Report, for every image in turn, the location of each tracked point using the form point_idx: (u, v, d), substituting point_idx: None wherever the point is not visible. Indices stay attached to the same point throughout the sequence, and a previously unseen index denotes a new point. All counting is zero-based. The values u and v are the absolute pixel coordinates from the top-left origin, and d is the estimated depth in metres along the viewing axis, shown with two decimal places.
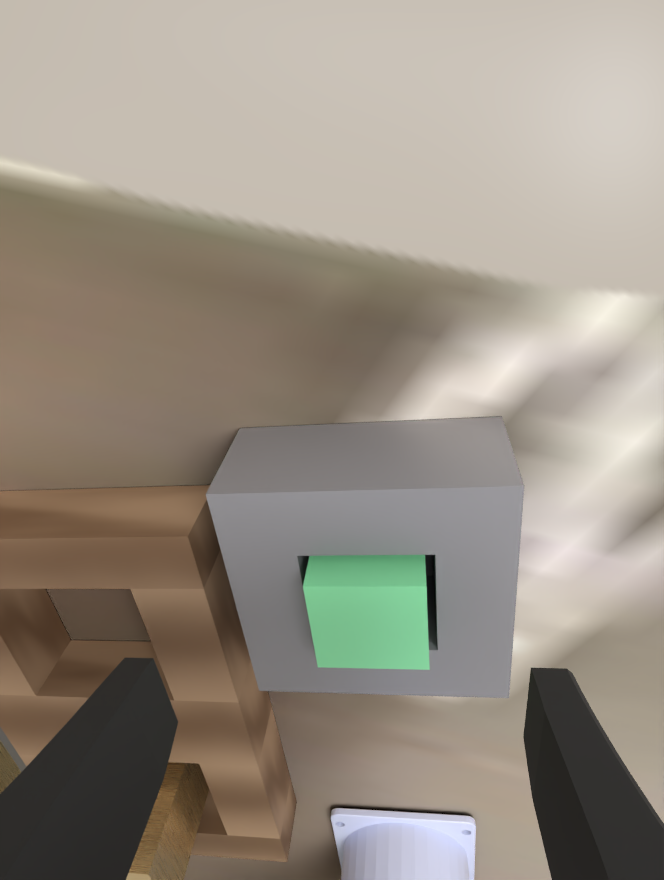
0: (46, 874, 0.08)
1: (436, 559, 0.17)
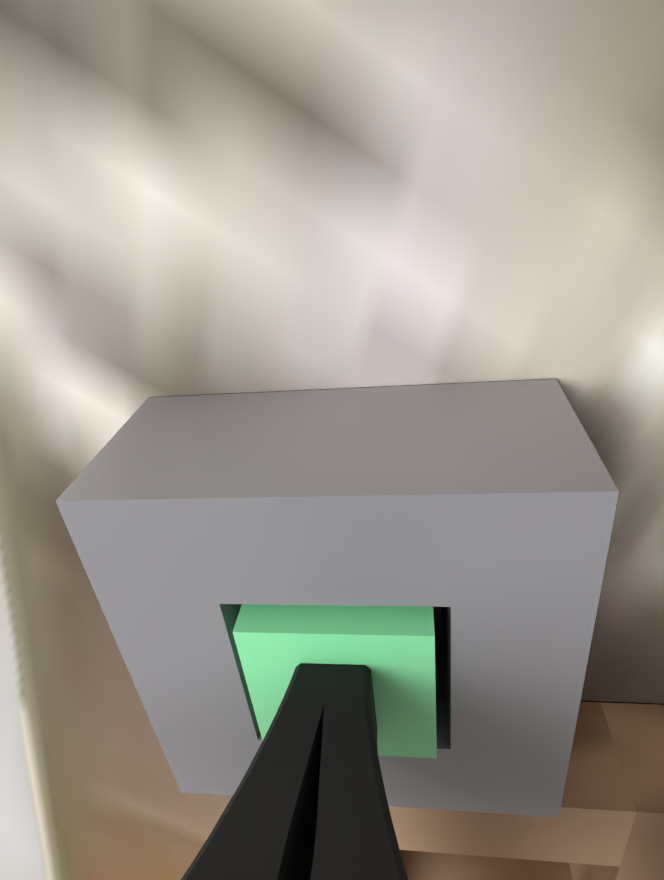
0: None
1: (229, 602, 0.10)
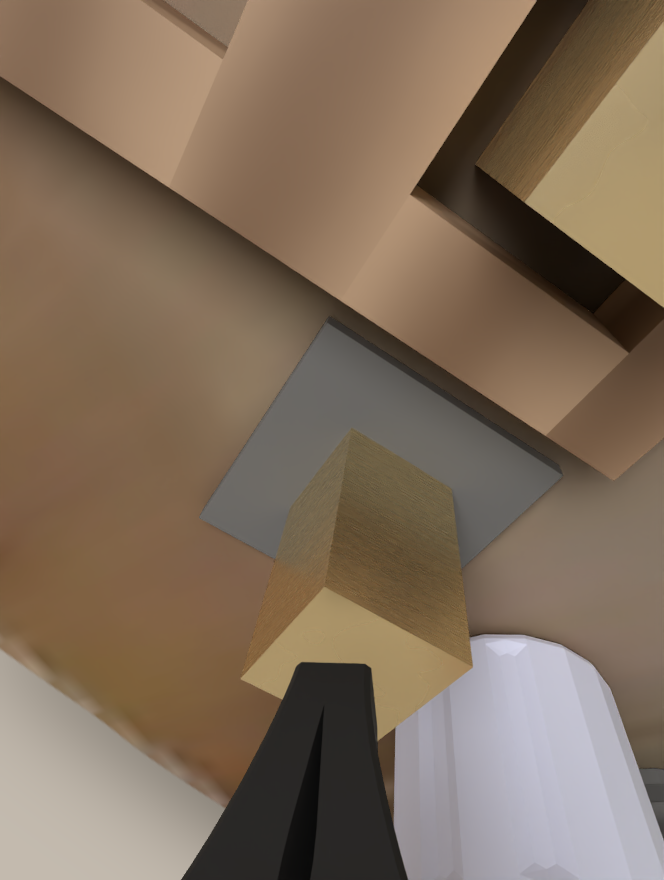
0: None
1: None
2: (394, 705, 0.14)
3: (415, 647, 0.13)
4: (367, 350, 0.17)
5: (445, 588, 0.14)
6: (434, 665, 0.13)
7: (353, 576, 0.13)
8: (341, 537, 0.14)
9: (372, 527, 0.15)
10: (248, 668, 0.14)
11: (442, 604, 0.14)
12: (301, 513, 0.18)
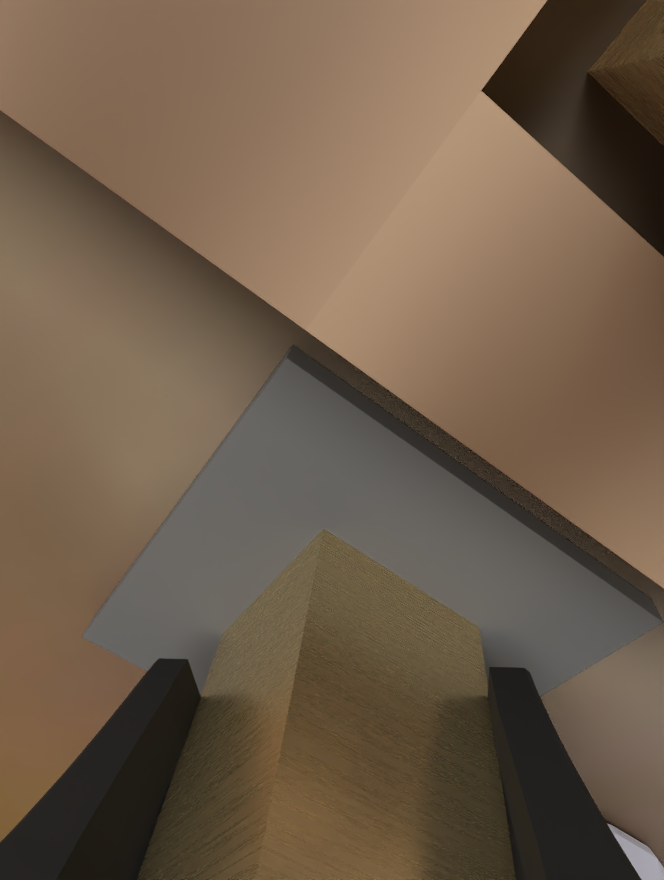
0: (91, 878, 0.08)
1: None
2: None
3: None
4: (356, 410, 0.09)
5: None
6: None
7: None
8: (283, 832, 0.06)
9: (348, 775, 0.07)
10: None
11: None
12: (231, 671, 0.11)
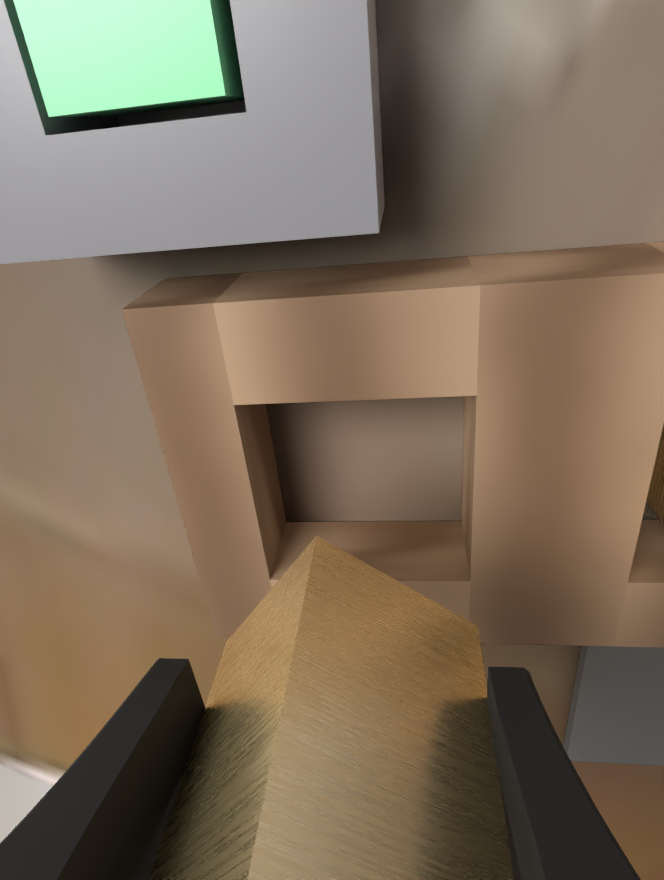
0: (92, 878, 0.08)
1: None
2: None
3: None
4: None
5: None
6: None
7: None
8: (273, 840, 0.07)
9: (340, 780, 0.08)
10: None
11: None
12: (233, 680, 0.11)
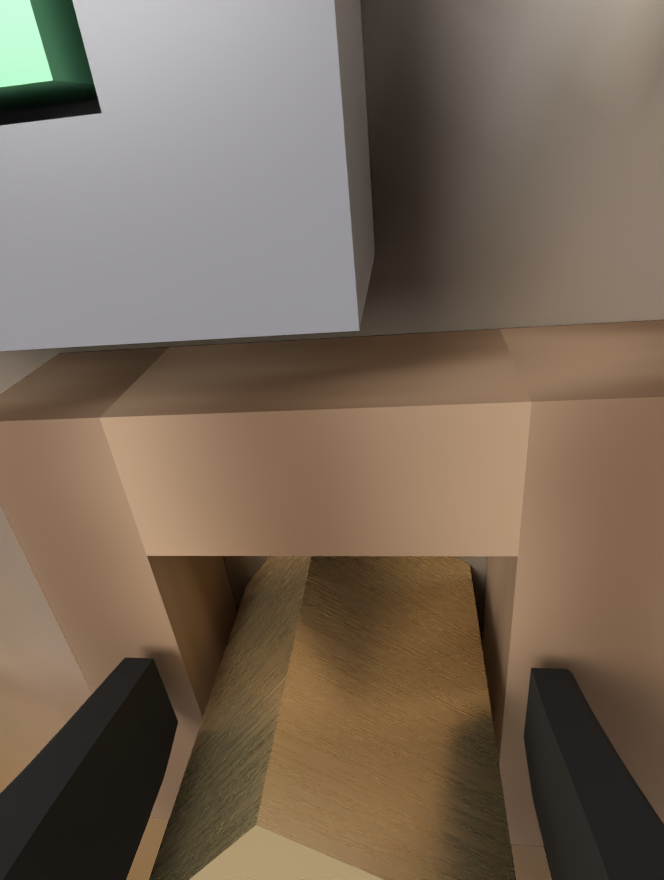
0: (46, 874, 0.08)
1: None
2: None
3: None
4: None
5: (470, 762, 0.09)
6: None
7: (312, 781, 0.07)
8: (298, 696, 0.08)
9: (351, 662, 0.09)
10: None
11: (467, 802, 0.08)
12: (254, 608, 0.12)
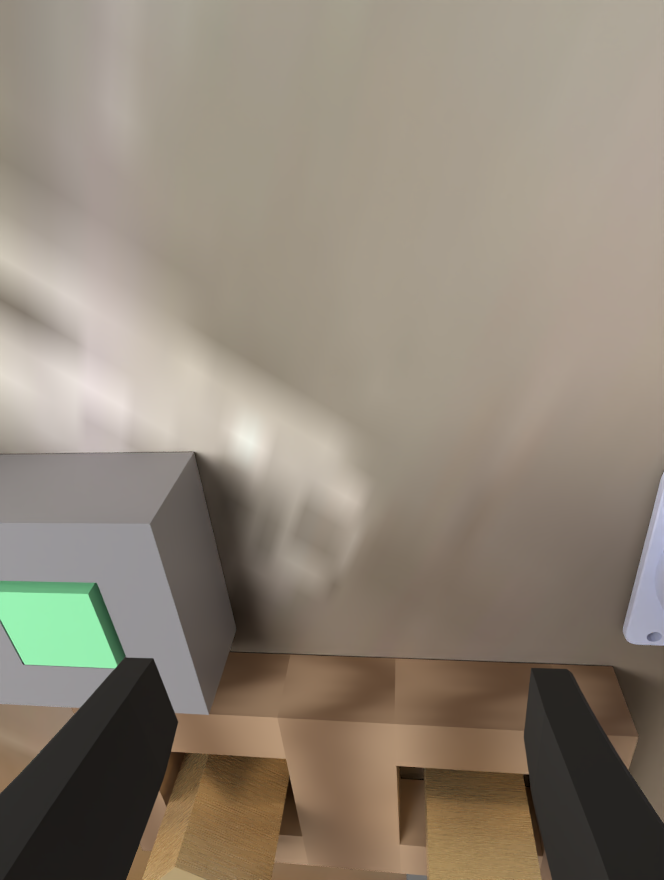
0: (46, 874, 0.08)
1: None
2: None
3: None
4: None
5: (264, 839, 0.23)
6: None
7: (196, 850, 0.22)
8: (195, 817, 0.22)
9: (220, 799, 0.23)
10: None
11: (258, 856, 0.23)
12: (191, 757, 0.27)
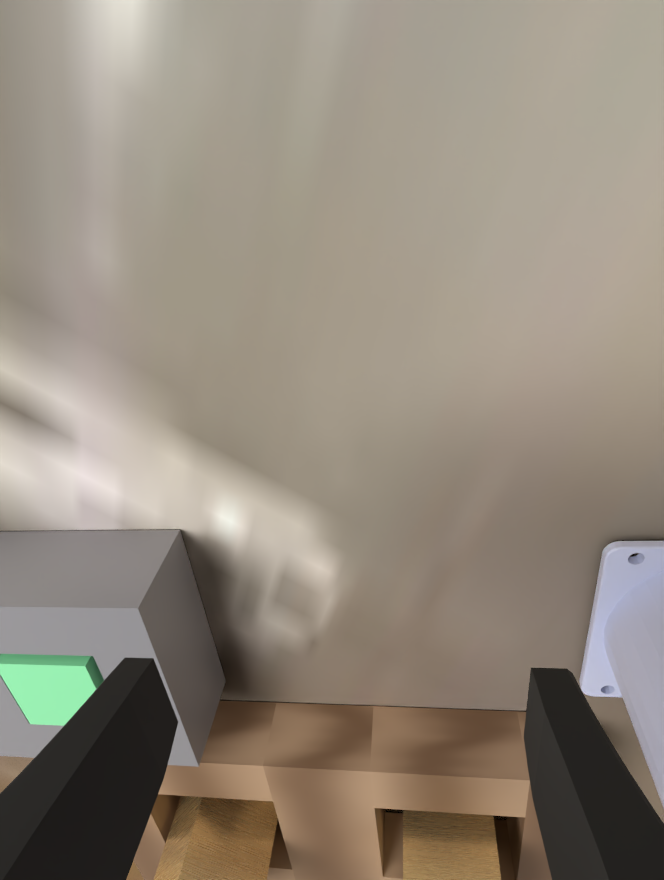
0: (46, 874, 0.08)
1: None
2: None
3: None
4: None
5: (254, 875, 0.25)
6: None
7: None
8: (189, 858, 0.24)
9: (213, 840, 0.25)
10: None
11: None
12: (187, 796, 0.29)
